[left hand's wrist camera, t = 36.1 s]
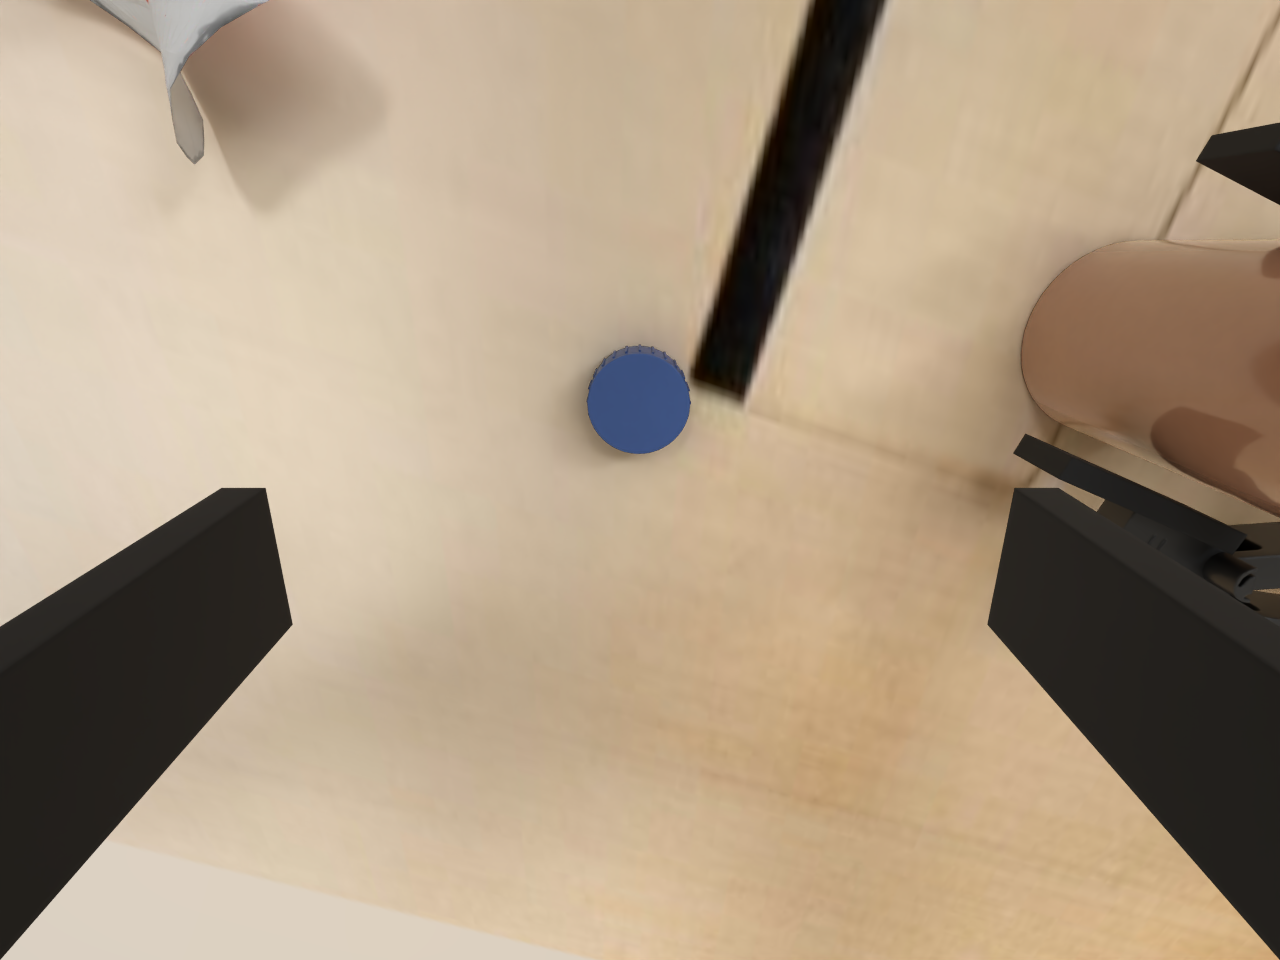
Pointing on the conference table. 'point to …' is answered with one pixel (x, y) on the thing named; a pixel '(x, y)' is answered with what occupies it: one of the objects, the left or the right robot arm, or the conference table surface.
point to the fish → (179, 48)
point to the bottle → (1169, 358)
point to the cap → (638, 400)
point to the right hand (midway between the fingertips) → (1134, 309)
